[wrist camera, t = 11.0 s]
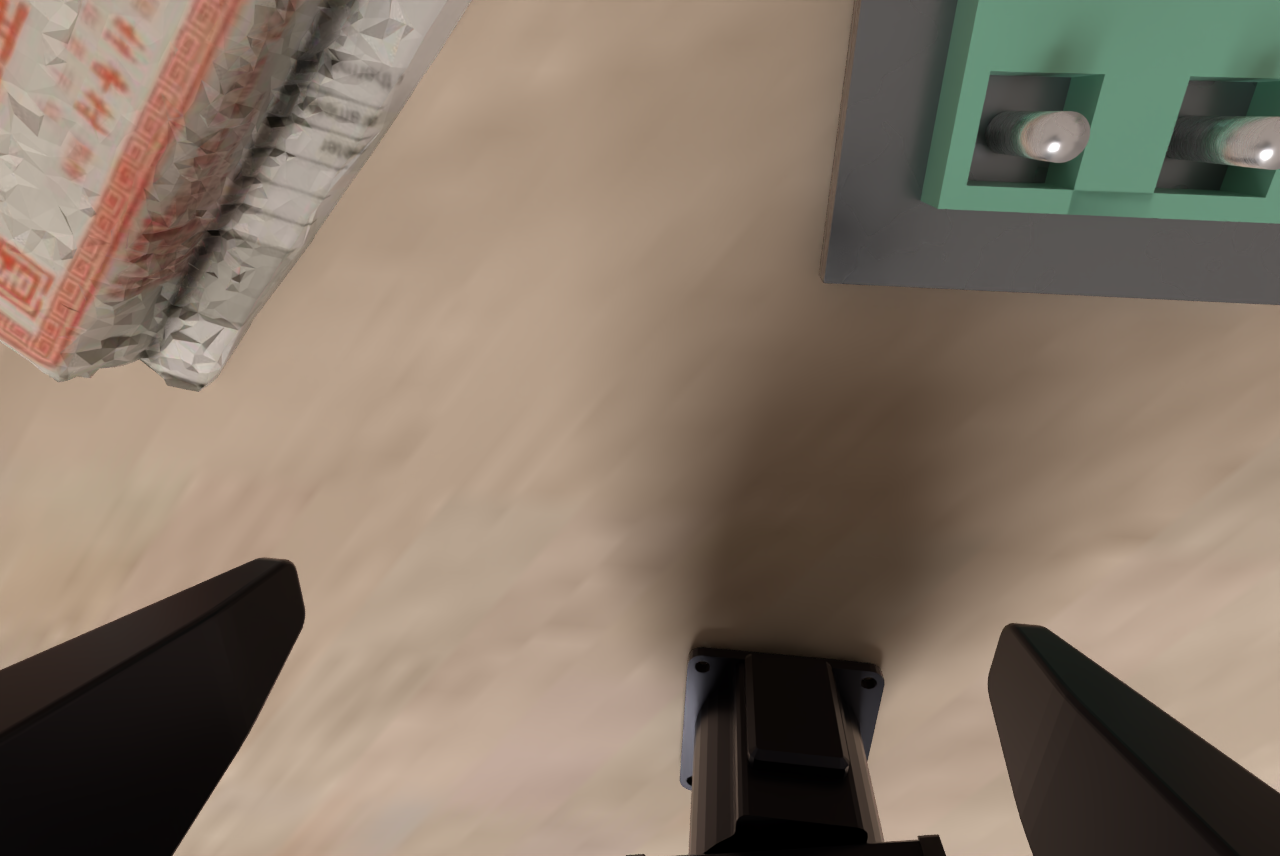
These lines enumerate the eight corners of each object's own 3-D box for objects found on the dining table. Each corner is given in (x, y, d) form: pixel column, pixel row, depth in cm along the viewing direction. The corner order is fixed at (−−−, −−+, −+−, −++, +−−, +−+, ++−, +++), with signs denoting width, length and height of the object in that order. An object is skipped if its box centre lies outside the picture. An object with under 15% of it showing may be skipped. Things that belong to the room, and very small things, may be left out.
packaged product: (106, 456, 18) (-278, 183, 16) (226, 388, 23) (-66, 168, 21) (522, -239, 12) (-46, -847, 10) (578, -144, 16) (196, -548, 14)
